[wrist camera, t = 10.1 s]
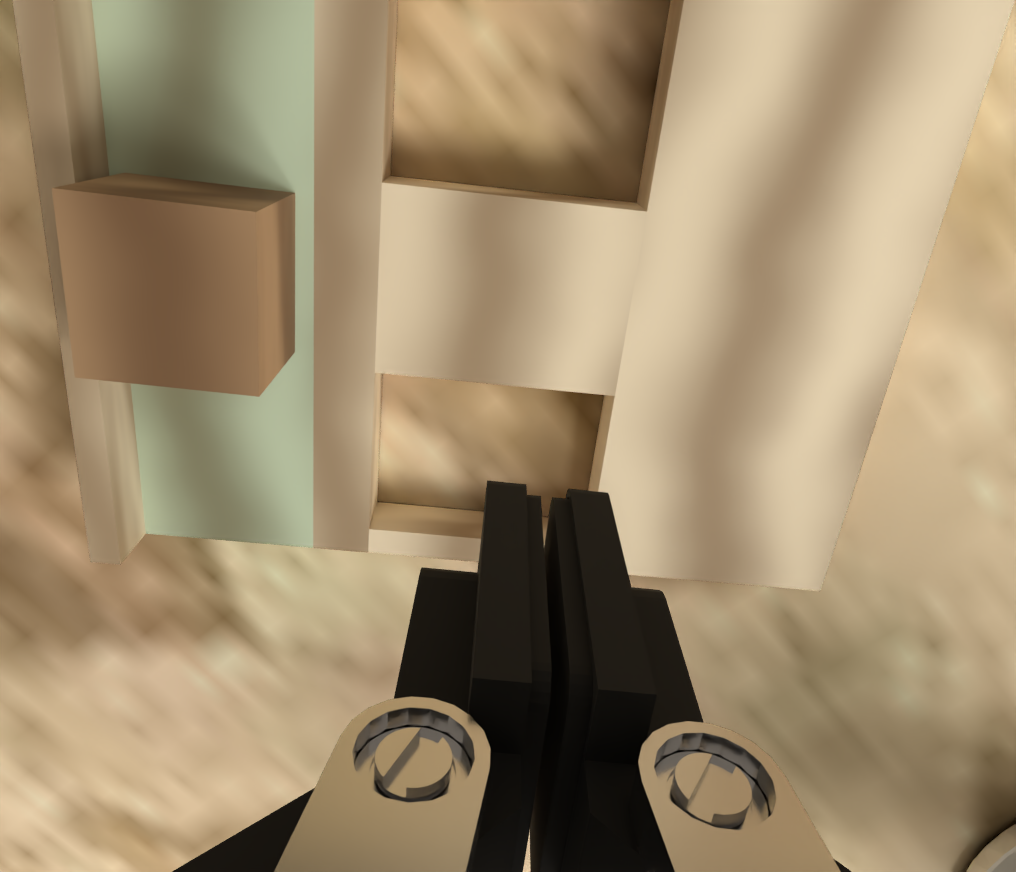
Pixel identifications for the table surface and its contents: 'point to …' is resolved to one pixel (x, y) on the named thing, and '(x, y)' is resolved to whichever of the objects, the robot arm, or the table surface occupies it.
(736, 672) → the table surface
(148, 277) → the walnut block
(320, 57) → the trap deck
